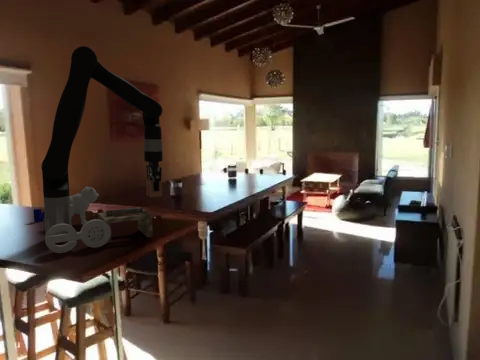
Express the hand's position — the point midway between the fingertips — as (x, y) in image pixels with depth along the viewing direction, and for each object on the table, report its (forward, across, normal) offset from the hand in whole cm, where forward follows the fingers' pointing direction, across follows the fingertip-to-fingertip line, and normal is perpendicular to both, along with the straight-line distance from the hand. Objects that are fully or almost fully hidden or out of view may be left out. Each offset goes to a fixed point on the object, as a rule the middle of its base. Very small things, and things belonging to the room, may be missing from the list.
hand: (154, 190), depth 172 cm
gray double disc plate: (+18, +14, -32) cm, 39 cm away
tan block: (+2, 0, 0) cm, 2 cm away
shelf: (+17, +4, -13) cm, 22 cm away
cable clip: (+18, -47, -40) cm, 64 cm away
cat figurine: (+18, -26, -29) cm, 43 cm away
